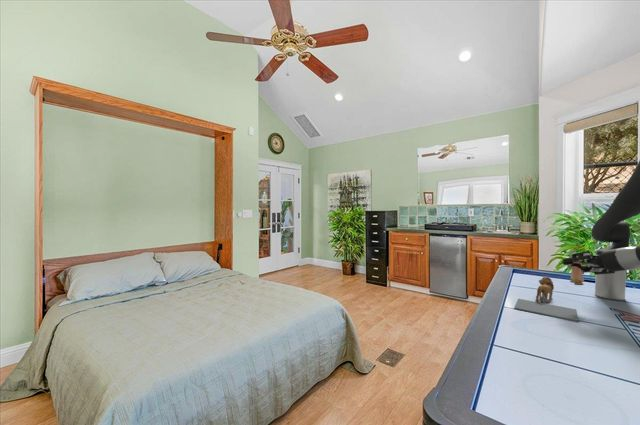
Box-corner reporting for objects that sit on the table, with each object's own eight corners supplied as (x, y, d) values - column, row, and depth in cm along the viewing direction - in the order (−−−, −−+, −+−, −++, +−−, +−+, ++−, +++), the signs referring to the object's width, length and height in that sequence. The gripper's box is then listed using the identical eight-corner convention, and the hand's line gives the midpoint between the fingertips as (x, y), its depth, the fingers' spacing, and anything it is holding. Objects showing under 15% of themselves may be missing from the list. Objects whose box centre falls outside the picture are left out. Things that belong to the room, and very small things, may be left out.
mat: (518, 299, 117) (518, 298, 117) (576, 310, 105) (576, 309, 105) (514, 308, 106) (514, 307, 106) (578, 322, 95) (578, 320, 95)
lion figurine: (538, 294, 124) (539, 274, 124) (553, 297, 121) (554, 276, 121) (534, 302, 114) (535, 280, 113) (551, 306, 110) (552, 283, 110)
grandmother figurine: (578, 278, 103) (576, 248, 108) (565, 279, 106) (564, 249, 112) (589, 287, 105) (586, 257, 111) (576, 287, 108) (574, 258, 114)
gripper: (637, 258, 99) (582, 265, 114) (608, 240, 97) (556, 250, 111) (640, 277, 96) (583, 282, 110) (611, 259, 93) (557, 267, 108)
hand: (570, 266), depth 111 cm, fingers closed on grandmother figurine, 7 cm apart
